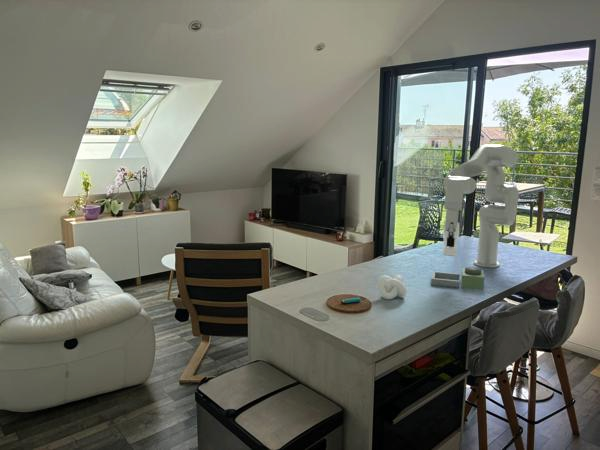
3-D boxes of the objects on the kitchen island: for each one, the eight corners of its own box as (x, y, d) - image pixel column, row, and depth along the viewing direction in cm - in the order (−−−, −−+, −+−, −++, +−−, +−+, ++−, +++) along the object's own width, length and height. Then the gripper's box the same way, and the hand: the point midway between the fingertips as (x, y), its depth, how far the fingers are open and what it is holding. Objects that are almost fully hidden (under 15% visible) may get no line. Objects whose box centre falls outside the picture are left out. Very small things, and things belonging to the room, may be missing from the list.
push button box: (432, 277, 224) (433, 262, 222) (481, 282, 217) (483, 266, 216) (431, 285, 213) (432, 269, 211) (483, 290, 206) (484, 273, 204)
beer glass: (458, 256, 209) (460, 223, 207) (442, 255, 211) (444, 223, 208) (456, 252, 216) (458, 221, 213) (441, 252, 217) (443, 220, 215)
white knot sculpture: (412, 297, 197) (414, 277, 196) (396, 304, 189) (397, 283, 187) (390, 290, 205) (391, 271, 203) (374, 297, 197) (374, 277, 195)
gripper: (445, 202, 218) (442, 240, 222) (443, 208, 202) (441, 248, 206) (461, 203, 216) (459, 241, 219) (462, 209, 200) (459, 249, 203)
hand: (450, 244), depth 213 cm, fingers closed on beer glass, 6 cm apart
